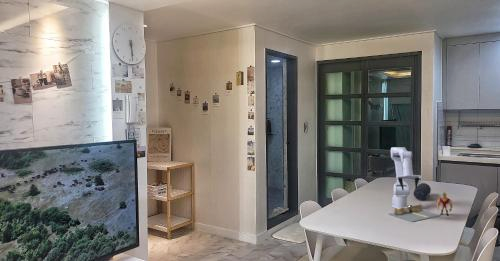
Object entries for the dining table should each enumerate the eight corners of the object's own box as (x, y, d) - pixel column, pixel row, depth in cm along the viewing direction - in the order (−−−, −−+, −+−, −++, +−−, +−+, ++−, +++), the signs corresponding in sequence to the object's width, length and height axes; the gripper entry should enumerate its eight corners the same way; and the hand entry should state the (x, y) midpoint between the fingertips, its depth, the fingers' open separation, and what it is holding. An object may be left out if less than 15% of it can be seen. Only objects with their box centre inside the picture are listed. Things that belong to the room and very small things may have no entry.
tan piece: (407, 211, 241) (407, 205, 241) (409, 212, 240) (409, 206, 240) (393, 214, 236) (393, 208, 236) (395, 214, 235) (395, 208, 235)
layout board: (388, 214, 239) (388, 213, 239) (416, 209, 250) (416, 208, 250) (412, 222, 222) (412, 221, 222) (440, 216, 233) (440, 215, 233)
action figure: (435, 214, 236) (435, 192, 236) (436, 213, 239) (437, 190, 238) (452, 216, 231) (452, 193, 230) (453, 215, 234) (453, 192, 233)
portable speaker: (417, 193, 294) (417, 181, 294) (431, 195, 289) (431, 182, 288) (412, 200, 273) (412, 187, 273) (427, 202, 268) (427, 188, 267)
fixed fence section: (411, 211, 243) (411, 204, 242) (420, 209, 246) (420, 203, 246) (412, 211, 241) (412, 205, 241) (421, 209, 245) (421, 203, 245)
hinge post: (407, 211, 242) (407, 205, 242) (410, 211, 243) (410, 204, 243) (410, 212, 240) (410, 206, 240) (413, 212, 241) (413, 205, 241)
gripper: (395, 168, 233) (397, 188, 228) (420, 167, 228) (422, 188, 223) (395, 170, 239) (397, 191, 234) (419, 170, 234) (421, 190, 229)
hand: (409, 190), depth 229 cm, fingers open, 7 cm apart
